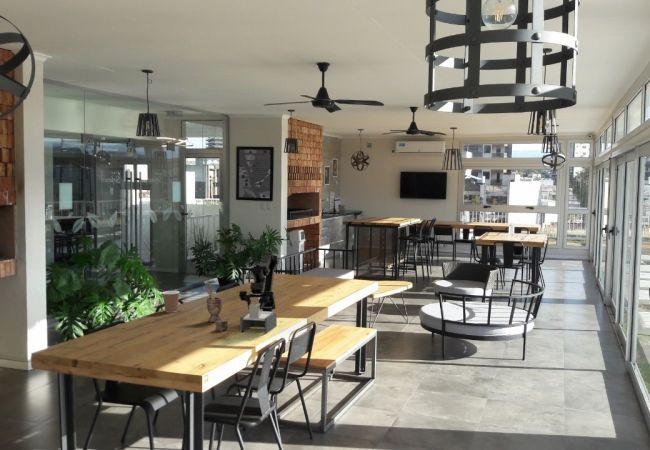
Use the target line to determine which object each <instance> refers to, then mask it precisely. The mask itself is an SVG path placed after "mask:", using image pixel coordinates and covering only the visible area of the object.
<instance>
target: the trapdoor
mask: <svg viewBox="0 0 650 450" xmlns="http://www.w3.org/2000/svg"><path fill="white" fill-rule="evenodd" d="M272 313H274V311H272V312H265V311H262V310H261V316H260V317H259V318H249V314H248V315H246V316H245V317H243V320H262V321H264V320H265V318H266V317H268V316H269V315H271V314H272Z"/></svg>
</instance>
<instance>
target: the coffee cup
mask: <svg viewBox="0 0 650 450" xmlns="http://www.w3.org/2000/svg"><path fill="white" fill-rule="evenodd" d="M162 296H163V303H164V304H163V305H164V310H165V312H166V313H176V312H178V309H179V307H178V306H179V298H180V297H179V296H180V291H178V290H166V291H162Z"/></svg>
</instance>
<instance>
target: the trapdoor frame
mask: <svg viewBox="0 0 650 450" xmlns="http://www.w3.org/2000/svg"><path fill="white" fill-rule="evenodd" d="M248 314H249V311H248V312H247V313H245V314H243V315H241V316H240V317H239V328H240V329H239V330H240V331H239V332H240V333H243V332H245V331H246V330H248V329H249V328H250V327H252V326H260V327H264V333H265V334H268V333H270V332H271V331H272V330H273V329H275V328H276V327H277V326H278V325H277V323H278V322H277V311H273V313H272V314H271V315H269V316H268V317H266V318H265V320H264V321H262V320H243V317H245V316H246V315H248ZM242 331H243V332H242Z"/></svg>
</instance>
